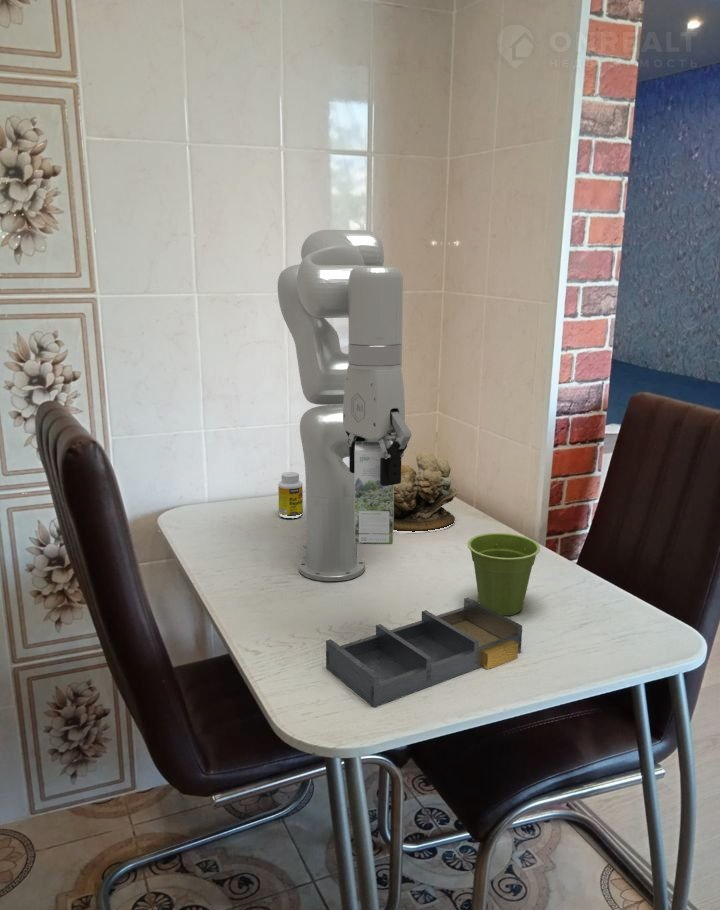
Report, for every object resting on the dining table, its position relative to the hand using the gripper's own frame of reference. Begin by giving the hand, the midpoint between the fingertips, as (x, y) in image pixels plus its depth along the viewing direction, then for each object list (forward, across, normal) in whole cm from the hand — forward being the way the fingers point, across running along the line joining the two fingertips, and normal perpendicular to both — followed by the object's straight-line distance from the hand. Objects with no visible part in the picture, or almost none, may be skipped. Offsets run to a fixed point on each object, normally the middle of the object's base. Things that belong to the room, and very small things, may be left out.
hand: (374, 477), depth 109 cm
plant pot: (+26, +1, +25) cm, 36 cm away
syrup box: (+10, 0, 0) cm, 10 cm away
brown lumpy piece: (+26, -42, +39) cm, 63 cm away
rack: (+26, +9, +3) cm, 28 cm away
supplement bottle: (+26, -62, +16) cm, 69 cm away
